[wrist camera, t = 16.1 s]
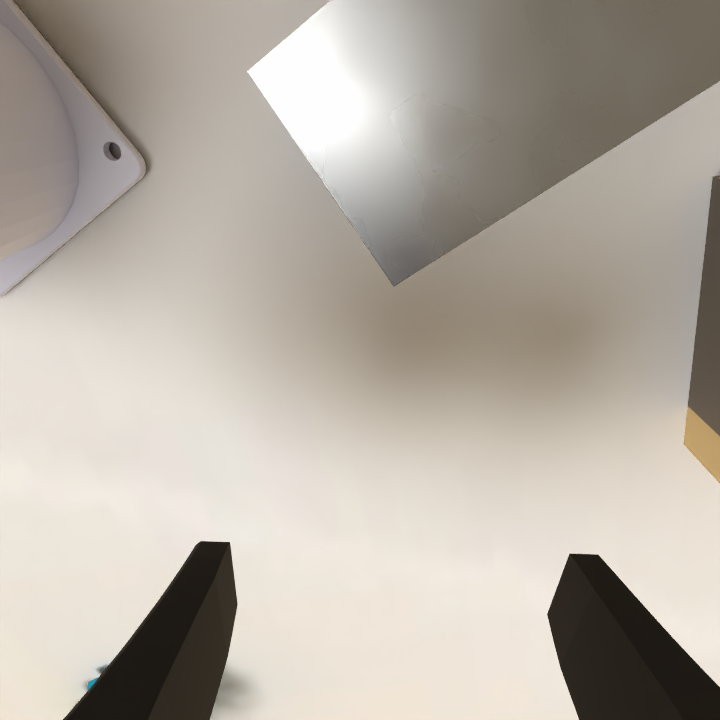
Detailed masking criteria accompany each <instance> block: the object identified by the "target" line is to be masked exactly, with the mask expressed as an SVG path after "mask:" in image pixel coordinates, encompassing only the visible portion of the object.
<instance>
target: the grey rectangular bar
mask: <svg viewBox="0 0 720 720" xmlns="http://www.w3.org/2000/svg"><path fill="white" fill-rule="evenodd" d="M684 445H685V446H686V447H687V448H688V449H689V450H690V452H691V453H692V454H693V455H694V456H695V457H696V458H697V459H698V460H699V461H700V462H701V463H702V465H703V466H704V467H705V468H706V469H707V470H708V471H709V472H710V473H711V474H712V475H713V477H714V478H715V479H716V480H717V481H718V482H719V483H720V176H715V177H713V181H712V190H711V199H710V208H709V217H708V227H707V236H706V245H705V254H704V263H703V272H702V281H701V290H700V300H699V309H698V318H697V327H696V336H695V345H694V354H693V364H692V373H691V382H690V391H689V400H688V409H687V418H686V427H685V437H684Z"/></svg>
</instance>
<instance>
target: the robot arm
mask: <svg viewBox="0 0 720 720" xmlns="http://www.w3.org/2000/svg"><path fill="white" fill-rule="evenodd" d="M111 142H114V143H115V144H117V145H118V146H119V148H120V150H121V157H120V158H119V159H116V158H115V157H113V156H112V155H111V153H110V151H109V145H110V143H111ZM145 171H146V166H145V161H144V159H143V158H142V156H141V154H140V153H139V152H138V151H137V150H136V148H135V147H134V146H133V145H132V144H131V142H130V141H129V140H128V139H127V138H126V136H125V135H124V134H123V133H122V132H121V130H120V129H119V128H118V127H117V126H116V124H115V123H114V122H113V121H112V120H111V118H110V117H109V116H108V115H107V114H106V112H105V111H104V110H103V109H102V107H101V106H100V105H99V104H98V103H97V101H96V100H95V99H94V98H93V97H92V95H91V94H90V93H89V92H88V91H87V89H86V88H85V87H84V86H83V85H82V83H81V82H80V81H79V80H78V79H77V77H76V76H75V75H74V74H73V73H72V71H71V70H70V69H69V68H68V67H67V65H66V64H65V63H64V62H63V61H62V59H61V58H60V57H59V56H58V54H57V53H56V52H55V51H54V50H53V48H52V47H51V46H50V45H49V44H48V42H47V41H46V40H45V39H44V38H43V36H42V35H41V34H40V33H39V32H38V30H37V29H36V28H35V27H34V26H33V24H32V23H31V22H30V21H29V20H28V18H27V17H26V16H25V15H24V14H23V12H22V11H21V10H20V9H19V8H18V6H17V5H16V4H15V3H14V1H13V0H0V297H2V296H3V295H5V294H6V293H7V292H8V291H9V290H11V289H12V288H13V287H14V286H15V285H16V284H18V283H19V282H20V281H21V280H22V279H24V278H25V277H26V276H27V275H28V274H29V273H31V272H32V271H33V270H34V269H35V268H37V267H38V266H39V265H40V264H41V263H42V262H44V261H45V260H46V259H47V258H48V257H50V256H51V255H52V254H53V253H54V252H55V251H57V250H58V249H59V248H60V247H61V246H63V245H64V244H65V243H66V242H67V241H69V240H70V239H71V238H72V237H73V236H74V235H76V234H77V233H78V232H79V231H80V230H82V229H83V228H84V227H85V226H86V225H87V224H89V223H90V222H91V221H92V220H93V219H95V218H96V217H97V216H98V215H99V214H100V213H102V212H103V211H104V210H105V209H106V208H108V207H109V206H110V205H111V204H112V203H113V202H115V201H116V200H117V199H118V198H119V197H121V196H122V195H123V194H124V193H125V192H126V191H128V190H129V189H130V188H131V187H132V186H134V185H135V184H136V183H137V182H138V181H139V180H141V179H142V177H143V176H144V175H145ZM236 609H237V597H236V589H235V580H234V572H233V564H232V556H231V547H230V542H206V541H201V542H199V543H198V544H197V545H196V546H195V547H194V549H193V551H192V552H191V554H190V555H189V557H188V558H187V560H186V561H185V563H184V564H183V566H182V567H181V569H180V570H179V572H178V573H177V575H176V576H175V578H174V579H173V581H172V582H171V584H170V585H169V586H168V588H167V589H166V591H165V592H164V593H163V595H162V596H161V598H160V599H159V601H158V602H157V603H156V605H155V606H154V607H153V609H152V610H151V611H150V613H149V614H148V615H147V617H146V618H145V619H144V621H143V622H142V623H141V625H140V626H139V627H138V629H137V630H136V631H135V633H134V634H133V635H132V637H131V638H130V639H129V641H128V642H127V643H126V645H125V646H124V647H123V648H122V650H121V651H120V652H119V653H118V655H117V656H116V657H115V658H114V660H113V661H112V662H111V663H110V664H109V666H108V667H107V668H106V669H105V671H104V672H103V673H102V674H101V675H100V677H99V678H98V679H97V680H96V682H95V683H94V684H93V685H92V686H91V688H90V689H89V690H88V691H87V693H86V694H85V695H84V696H83V697H82V698H81V700H80V701H79V702H78V703H77V704H76V705H75V707H74V708H73V709H72V710H71V711H70V712H69V713H68V715H67V716H66V717H65V718H64V719H63V720H210V716H211V713H212V710H213V706H214V703H215V699H216V696H217V692H218V689H219V685H220V682H221V678H222V675H223V671H224V668H225V664H226V661H227V657H228V652H229V647H230V642H231V637H232V632H233V626H234V621H235V615H236ZM547 615H548V619H549V623H550V627H551V632H552V636H553V640H554V644H555V648H556V652H557V656H558V660H559V663H560V667H561V670H562V673H563V676H564V679H565V681H566V684H567V687H568V690H569V692H570V695H571V698H572V701H573V704H574V706H575V709H576V712H577V715H578V717H579V720H720V687H719V686H718V685H717V684H716V683H715V682H714V681H713V680H712V679H711V678H710V677H709V676H708V675H707V674H706V673H705V672H704V671H703V670H702V669H701V668H700V666H699V665H698V664H697V663H696V662H695V661H694V660H693V659H692V658H691V657H690V656H689V655H688V654H687V653H686V652H685V650H684V649H683V648H682V647H681V646H680V645H679V644H678V643H677V642H676V641H675V640H674V639H673V638H672V637H671V635H670V634H669V633H668V632H667V631H666V630H665V629H664V628H663V627H662V626H661V625H660V623H659V622H658V621H657V620H656V619H655V618H654V617H653V616H652V615H651V613H650V612H649V611H648V610H647V609H646V608H645V607H644V606H643V604H642V603H641V602H640V601H639V600H638V599H637V598H636V597H635V596H634V594H633V593H632V592H631V591H630V590H629V589H628V588H627V587H626V585H625V584H624V583H623V582H622V581H621V580H620V579H619V578H618V576H617V575H616V574H615V573H614V572H613V571H612V570H611V568H610V567H609V566H608V565H607V564H606V563H605V562H604V561H603V560H602V558H601V557H600V556H599V555H591V554H569V557H568V560H567V562H566V565H565V568H564V570H563V573H562V576H561V579H560V581H559V584H558V587H557V589H556V592H555V595H554V597H553V600H552V603H551V606H550V608H549V611H548V614H547Z"/></svg>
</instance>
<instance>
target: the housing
mask: <svg viewBox="0 0 720 720" xmlns="http://www.w3.org/2000/svg"><path fill="white" fill-rule="evenodd" d="M247 72H248V73H249V74H250V76H251V77H252V79H253V80H254V82H255V83H256V85H257V86H258V88H259V89H260V91H261V92H262V94H263V95H264V97H265V98H266V99H267V101H268V102H269V104H270V105H271V107H272V108H273V110H274V111H275V113H276V114H277V116H278V117H279V119H280V120H281V121H282V123H283V124H284V126H285V127H286V129H287V130H288V132H289V133H290V135H291V136H292V138H293V139H294V141H295V142H296V144H297V145H298V146H299V148H300V149H301V151H302V152H303V154H304V155H305V157H306V158H307V160H308V161H309V163H310V164H311V166H312V167H313V169H314V170H315V171H316V173H317V174H318V176H319V177H320V179H321V180H322V182H323V183H324V185H325V186H326V188H327V189H328V191H329V192H330V193H331V195H332V196H333V198H334V199H335V201H336V202H337V204H338V205H339V207H340V208H341V210H342V211H343V213H344V214H345V216H346V217H347V218H348V220H349V221H350V223H351V224H352V226H353V227H354V229H355V230H356V232H357V233H358V235H359V236H360V238H361V239H362V241H363V242H364V243H365V245H366V246H367V248H368V249H369V251H370V252H371V254H372V255H373V257H374V258H375V260H376V261H377V263H378V264H379V266H380V267H381V268H382V270H383V271H384V273H385V274H386V276H387V277H388V279H389V280H390V282H391V283H392V285H393V286H395V285H397V284H398V283H400V282H402V281H403V280H405V279H406V278H408V277H410V276H411V275H413V274H414V273H416V272H417V271H419V270H421V269H422V268H424V267H425V266H427V265H429V264H430V263H432V262H433V261H435V260H436V259H438V258H440V257H441V256H443V255H444V254H446V253H448V252H449V251H451V250H452V249H454V248H455V247H457V246H459V245H460V244H462V243H463V242H465V241H467V240H468V239H470V238H471V237H473V236H474V235H476V234H478V233H479V232H481V231H482V230H484V229H486V228H487V227H489V226H490V225H492V224H494V223H495V222H497V221H498V220H500V219H501V218H503V217H505V216H506V215H508V214H509V213H511V212H513V211H514V210H516V209H517V208H519V207H520V206H522V205H524V204H525V203H527V202H528V201H530V200H532V199H533V198H535V197H536V196H538V195H539V194H541V193H543V192H544V191H546V190H547V189H549V188H551V187H552V186H554V185H555V184H557V183H558V182H560V181H562V180H563V179H565V178H566V177H568V176H570V175H571V174H573V173H574V172H576V171H577V170H579V169H581V168H582V167H584V166H585V165H587V164H589V163H590V162H592V161H593V160H595V159H597V158H598V157H600V156H601V155H603V154H604V153H606V152H608V151H609V150H611V149H612V148H614V147H616V146H617V145H619V144H620V143H622V142H623V141H625V140H627V139H628V138H630V137H631V136H633V135H635V134H636V133H638V132H639V131H641V130H642V129H644V128H646V127H647V126H649V125H650V124H652V123H654V122H655V121H657V120H658V119H660V118H661V117H663V116H665V115H666V114H668V113H669V112H671V111H673V110H674V109H676V108H677V107H679V106H681V105H682V104H684V103H685V102H687V101H688V100H690V99H692V98H693V97H695V96H696V95H698V94H700V93H701V92H703V91H704V90H706V89H707V88H709V87H711V86H712V85H714V84H715V83H717V82H719V81H720V0H330V1H329V2H328V3H327V4H325V5H324V6H323V7H322V8H321V9H320V10H318V11H317V12H316V13H315V14H314V15H313V16H311V17H310V18H309V19H308V20H307V21H306V22H304V23H303V24H302V25H301V26H300V27H299V28H297V29H296V30H295V31H294V32H293V33H292V34H290V35H289V36H288V37H287V38H286V39H285V40H283V41H282V42H281V43H280V44H279V45H278V46H276V47H275V48H274V49H273V50H272V51H271V52H269V53H268V54H267V55H266V56H265V57H264V58H262V59H261V60H260V61H259V62H258V63H257V64H255V65H254V66H253V67H252V68H251V69H250V70H248V71H247Z"/></svg>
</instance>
